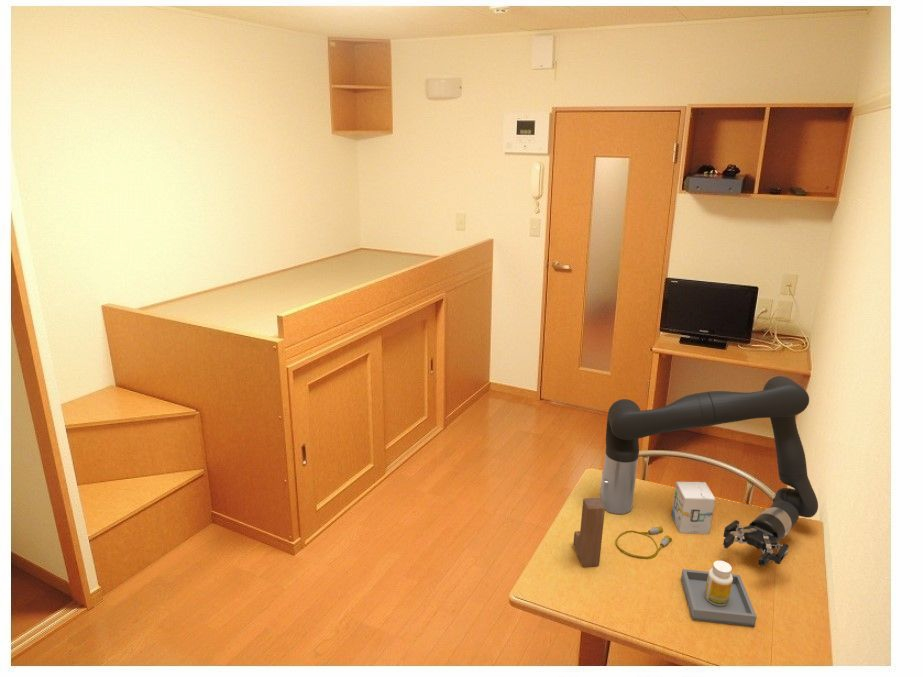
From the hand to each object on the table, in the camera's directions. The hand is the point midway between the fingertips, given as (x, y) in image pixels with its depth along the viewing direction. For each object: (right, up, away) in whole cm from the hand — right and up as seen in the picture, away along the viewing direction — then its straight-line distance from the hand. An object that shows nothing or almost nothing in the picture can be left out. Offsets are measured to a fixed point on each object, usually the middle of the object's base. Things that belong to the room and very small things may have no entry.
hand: (742, 553), depth 151 cm
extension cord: (-20, -3, +16) cm, 25 cm away
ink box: (-4, 0, +24) cm, 24 cm away
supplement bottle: (-8, -9, -4) cm, 13 cm away
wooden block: (-36, -4, +11) cm, 38 cm away
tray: (-8, -10, -4) cm, 14 cm away
